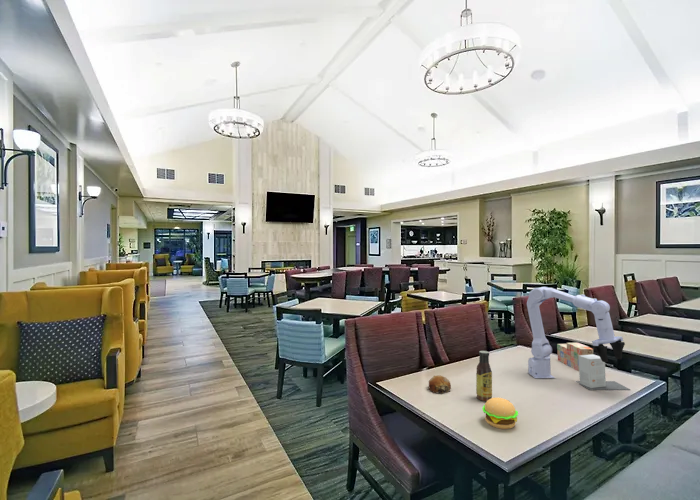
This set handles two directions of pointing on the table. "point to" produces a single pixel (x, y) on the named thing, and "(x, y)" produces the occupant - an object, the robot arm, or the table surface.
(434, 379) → the bread roll
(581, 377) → the small box
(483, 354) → the sauce bottle
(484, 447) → the table surface
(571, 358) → the stack of blocks
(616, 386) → the mat
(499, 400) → the hamburger
